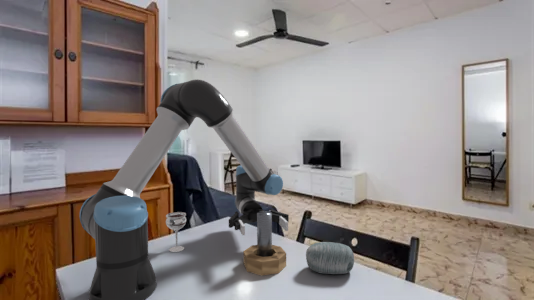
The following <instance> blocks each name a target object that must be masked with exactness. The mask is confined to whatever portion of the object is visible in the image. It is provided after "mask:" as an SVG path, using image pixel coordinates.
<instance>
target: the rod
mask: <svg viewBox="0 0 534 300" xmlns="http://www.w3.org/2000/svg"><path fill="white" fill-rule="evenodd" d="M256 228H257V229H256V231H257V232H256V236H257V237H256V238H257V239H256V243H257V244H256V245H257V256H261V257H268V256H272V245H273V244H272V243H273V235H272V233H273V222H272V213H271V212H269V210H264V211H260V212H258V213H257V222H256Z"/></svg>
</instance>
